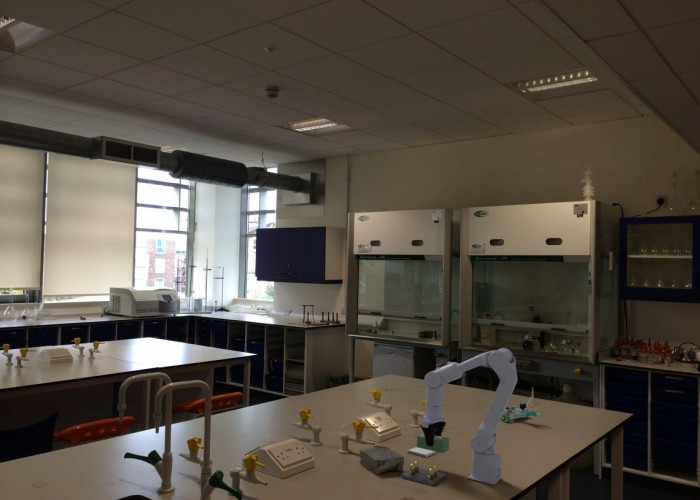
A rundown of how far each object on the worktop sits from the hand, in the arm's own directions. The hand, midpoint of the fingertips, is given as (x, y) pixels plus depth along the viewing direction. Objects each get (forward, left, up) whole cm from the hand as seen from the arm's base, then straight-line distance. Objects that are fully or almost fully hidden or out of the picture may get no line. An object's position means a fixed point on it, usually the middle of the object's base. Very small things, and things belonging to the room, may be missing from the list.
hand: (433, 443), depth 202 cm
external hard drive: (+10, -15, -9) cm, 20 cm away
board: (0, 0, -2) cm, 2 cm away
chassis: (-2, +11, -8) cm, 14 cm away
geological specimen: (+15, +11, -9) cm, 21 cm away
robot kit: (-3, -87, -9) cm, 88 cm away
